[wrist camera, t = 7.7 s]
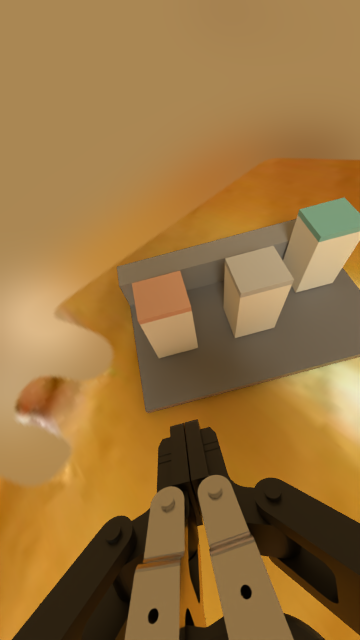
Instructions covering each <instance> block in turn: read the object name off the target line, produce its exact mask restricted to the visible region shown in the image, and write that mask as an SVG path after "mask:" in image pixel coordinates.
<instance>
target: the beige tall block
mask: <svg viewBox="0 0 360 640" xmlns="http://www.w3.org/2000/svg"><path fill="white" fill-rule="evenodd" d="M293 281H294V278H293V277H292V275H291V274H290V272H289V270H288V269H287V267H286V265H285V264H284V262H283V260H282V259H281V257H280V256H279V254H278V252H277V251H276V249H275V247H274V246H270V247H266V248H262V249H259V250H255V251H251V252H247V253H244V254H240V255H236V256H232V257H229V258H225V275H224V305H223V309H224V311H225V314H226V316H227V319H228V322H229V324H230V327H231V329H232V332H233V335H234V337H235V338H237V337H241V336H245V335H249V334H252V333H256V332H260V331H264V330H267V329H271V328H274V327H275V325H276V322H277V320H278V317H279V315H280V312H281V310H282V308H283V305H284V303H285V300H286V298H287V296H288V293H289V291H290V288H291V286H292V283H293Z"/></svg>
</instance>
